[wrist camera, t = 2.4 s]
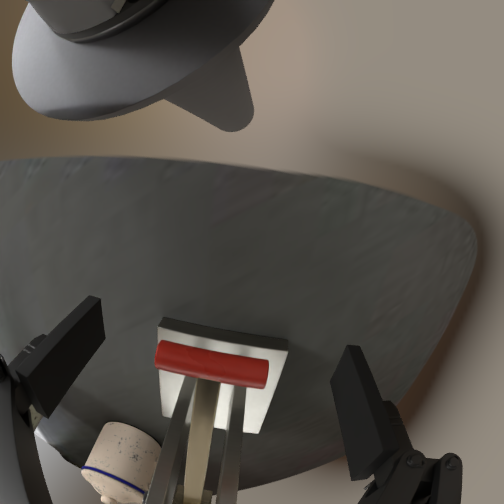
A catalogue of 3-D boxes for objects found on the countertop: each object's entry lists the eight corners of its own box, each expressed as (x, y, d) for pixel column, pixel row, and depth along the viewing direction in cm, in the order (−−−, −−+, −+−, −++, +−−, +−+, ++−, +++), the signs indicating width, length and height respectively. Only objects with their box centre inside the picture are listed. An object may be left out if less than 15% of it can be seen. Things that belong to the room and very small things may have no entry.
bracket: (163, 316, 21) (78, 479, 7) (287, 339, 21) (301, 525, 7) (165, 405, 25) (126, 524, 11) (259, 423, 25) (253, 548, 11)
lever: (167, 334, 13) (152, 345, 10) (266, 353, 13) (271, 369, 11) (156, 501, 12) (148, 522, 9) (229, 515, 12) (227, 538, 9)
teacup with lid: (113, 444, 30) (89, 501, 19) (94, 411, 27) (61, 476, 16) (187, 463, 30) (173, 528, 19) (180, 434, 27) (159, 514, 16)
